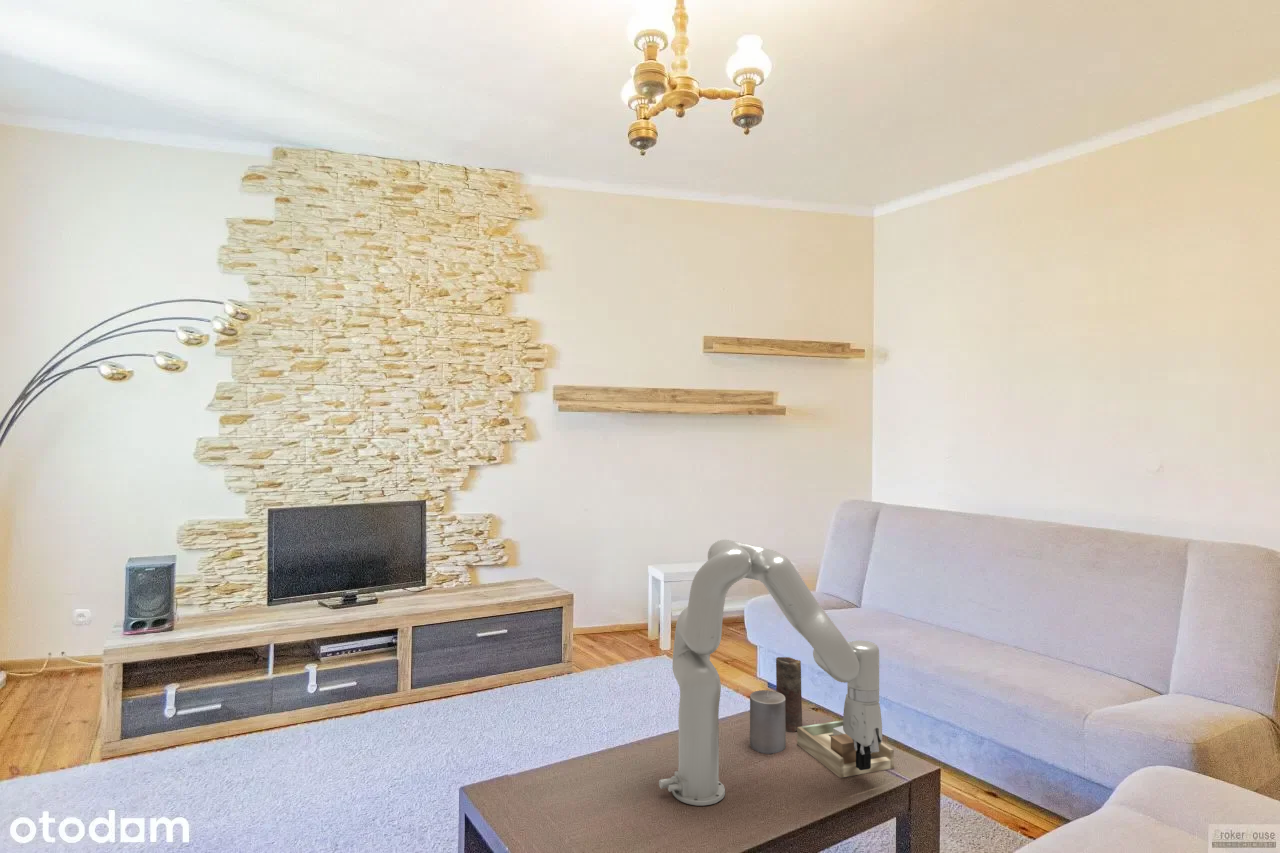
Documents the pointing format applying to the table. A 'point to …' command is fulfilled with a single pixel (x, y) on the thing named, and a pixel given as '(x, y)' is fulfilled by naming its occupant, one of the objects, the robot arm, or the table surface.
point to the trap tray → (819, 747)
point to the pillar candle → (767, 721)
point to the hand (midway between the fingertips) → (863, 767)
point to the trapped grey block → (838, 731)
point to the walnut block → (844, 747)
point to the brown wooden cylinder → (790, 690)
